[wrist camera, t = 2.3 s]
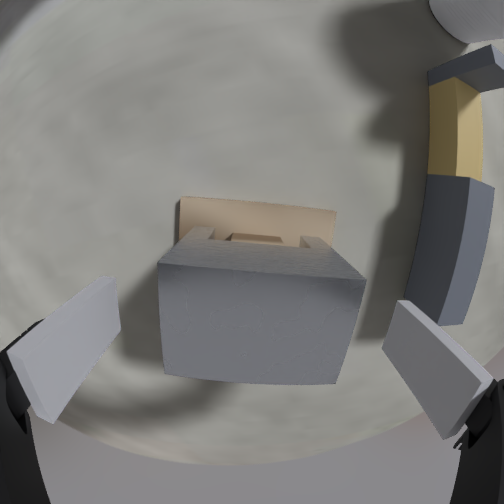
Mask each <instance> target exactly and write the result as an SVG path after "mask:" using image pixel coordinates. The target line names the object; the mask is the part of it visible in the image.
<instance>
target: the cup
mask: <svg viewBox="0 0 504 504" xmlns="http://www.w3.org/2000/svg"><path fill="white" fill-rule="evenodd" d="M429 4H430V7H431V10H432V12H433V14H434V16H435V18H436V19H437V20H438V22H439V23H440V24H441V25H442V27H443V28H444V29H445V30H446V31H447V32H448V33H450V34H451V35H452V36H453V37H455V38H457V39H458V40H460V41H462V42H464V43H468V44H470V43H475V42H482V41H488V40H495V39H504V0H429Z"/></svg>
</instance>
